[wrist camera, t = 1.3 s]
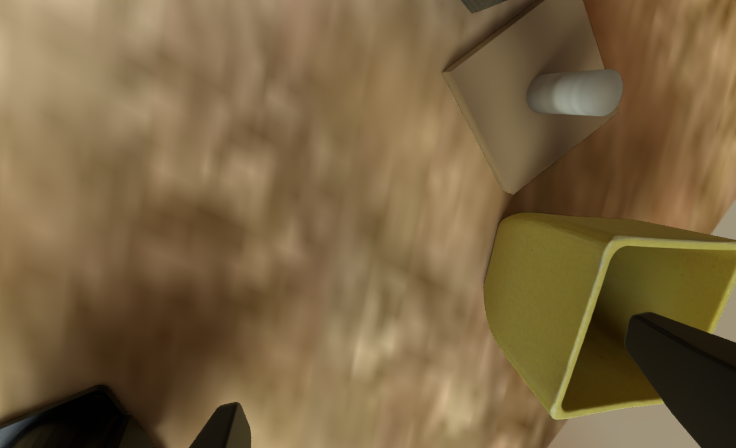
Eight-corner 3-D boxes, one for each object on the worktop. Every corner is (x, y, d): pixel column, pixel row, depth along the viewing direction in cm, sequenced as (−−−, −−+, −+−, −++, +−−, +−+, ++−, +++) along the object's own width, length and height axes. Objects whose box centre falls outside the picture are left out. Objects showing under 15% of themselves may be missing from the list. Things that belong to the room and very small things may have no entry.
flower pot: (593, 196, 25) (759, 244, 17) (557, 312, 28) (686, 403, 19) (480, 185, 22) (612, 236, 14) (451, 315, 25) (549, 422, 17)
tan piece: (503, 190, 23) (565, 213, 18) (441, 72, 20) (499, 65, 15) (604, 111, 23) (689, 115, 19) (560, -18, 20) (652, -52, 15)
